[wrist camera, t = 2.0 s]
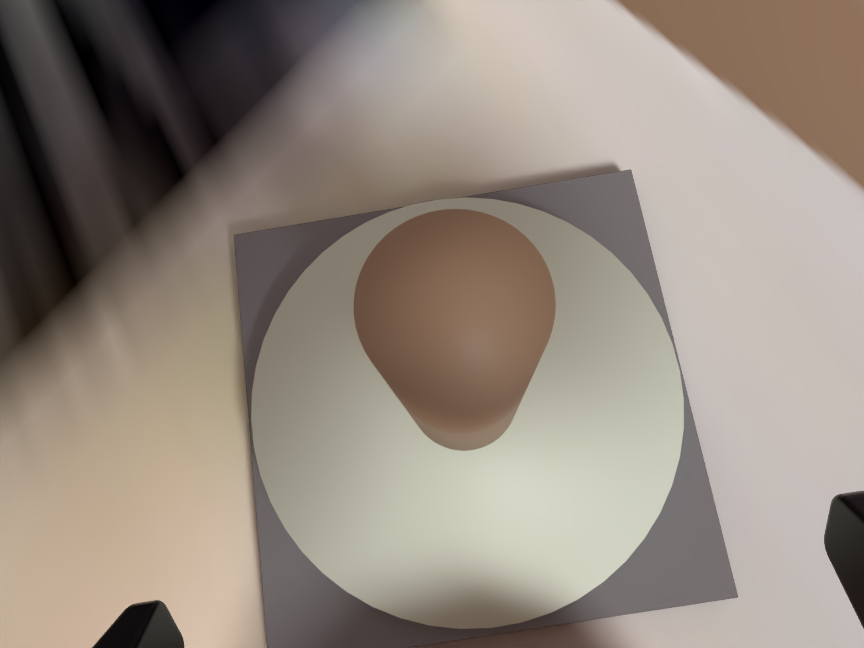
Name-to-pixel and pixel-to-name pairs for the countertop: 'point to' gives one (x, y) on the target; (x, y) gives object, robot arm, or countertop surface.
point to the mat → (618, 595)
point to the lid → (467, 413)
